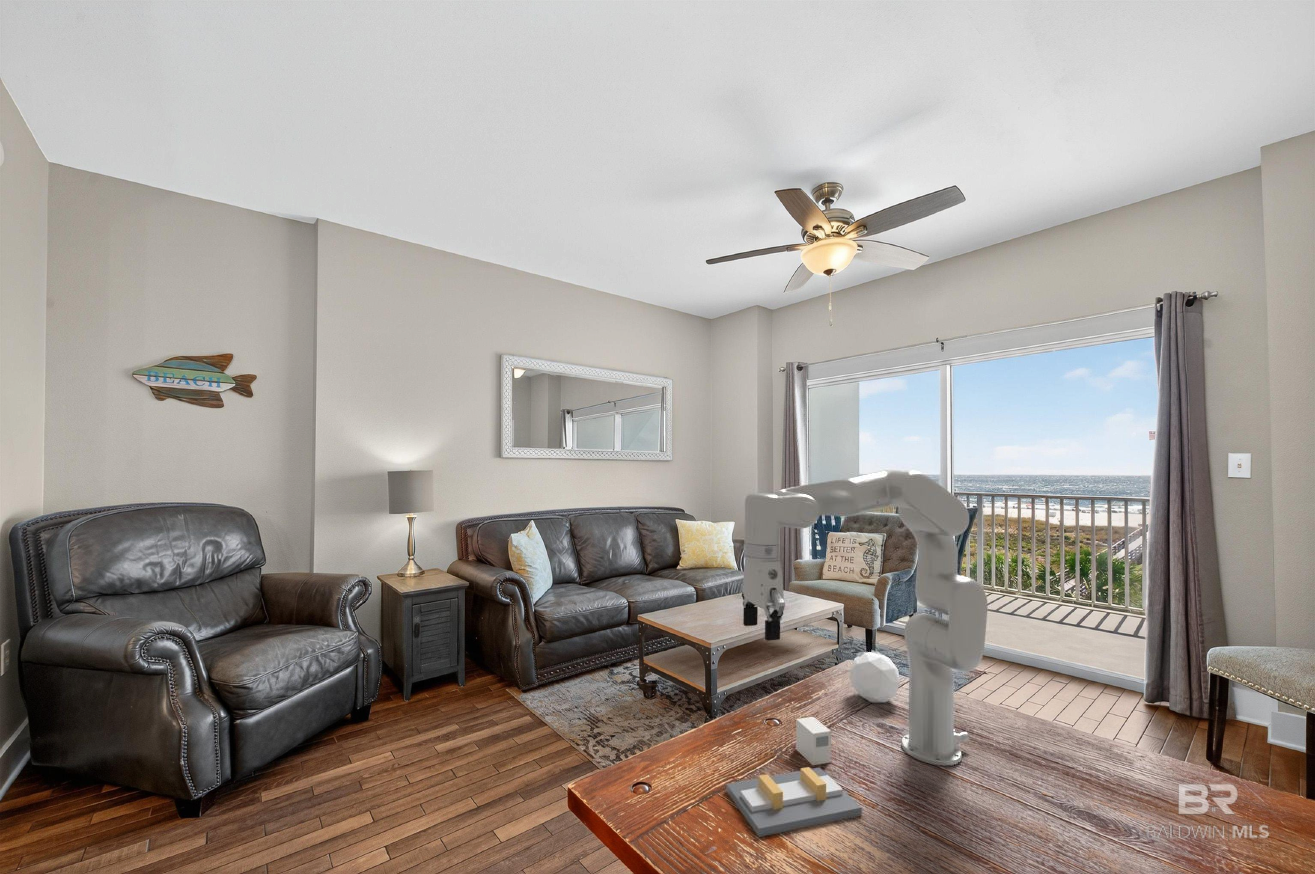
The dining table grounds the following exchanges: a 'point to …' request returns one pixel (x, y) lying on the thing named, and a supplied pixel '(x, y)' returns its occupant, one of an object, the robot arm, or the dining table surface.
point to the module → (813, 740)
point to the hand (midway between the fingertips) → (760, 632)
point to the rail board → (791, 801)
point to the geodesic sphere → (874, 676)
